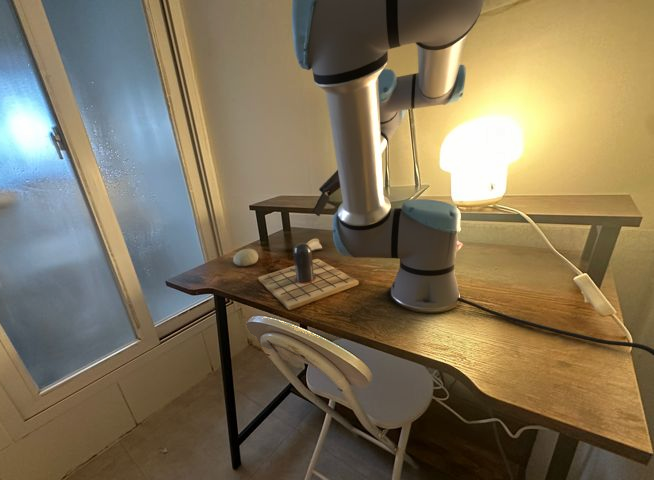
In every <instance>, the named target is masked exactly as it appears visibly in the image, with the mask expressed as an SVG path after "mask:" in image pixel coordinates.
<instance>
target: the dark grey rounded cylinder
mask: <svg viewBox="0 0 654 480" xmlns="http://www.w3.org/2000/svg"><path fill="white" fill-rule="evenodd" d="M292 251H293V260H294V266H295V270H296V278H297V281H299V282H309V281H312V280H313V279H314V272H313V261H312V260H313V253H312V252H313V251H311V248H310V246H309V245H307V244H306V243H304V242H300V243H298V244H297V245H295V246H294V248H293V250H292Z"/></svg>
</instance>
